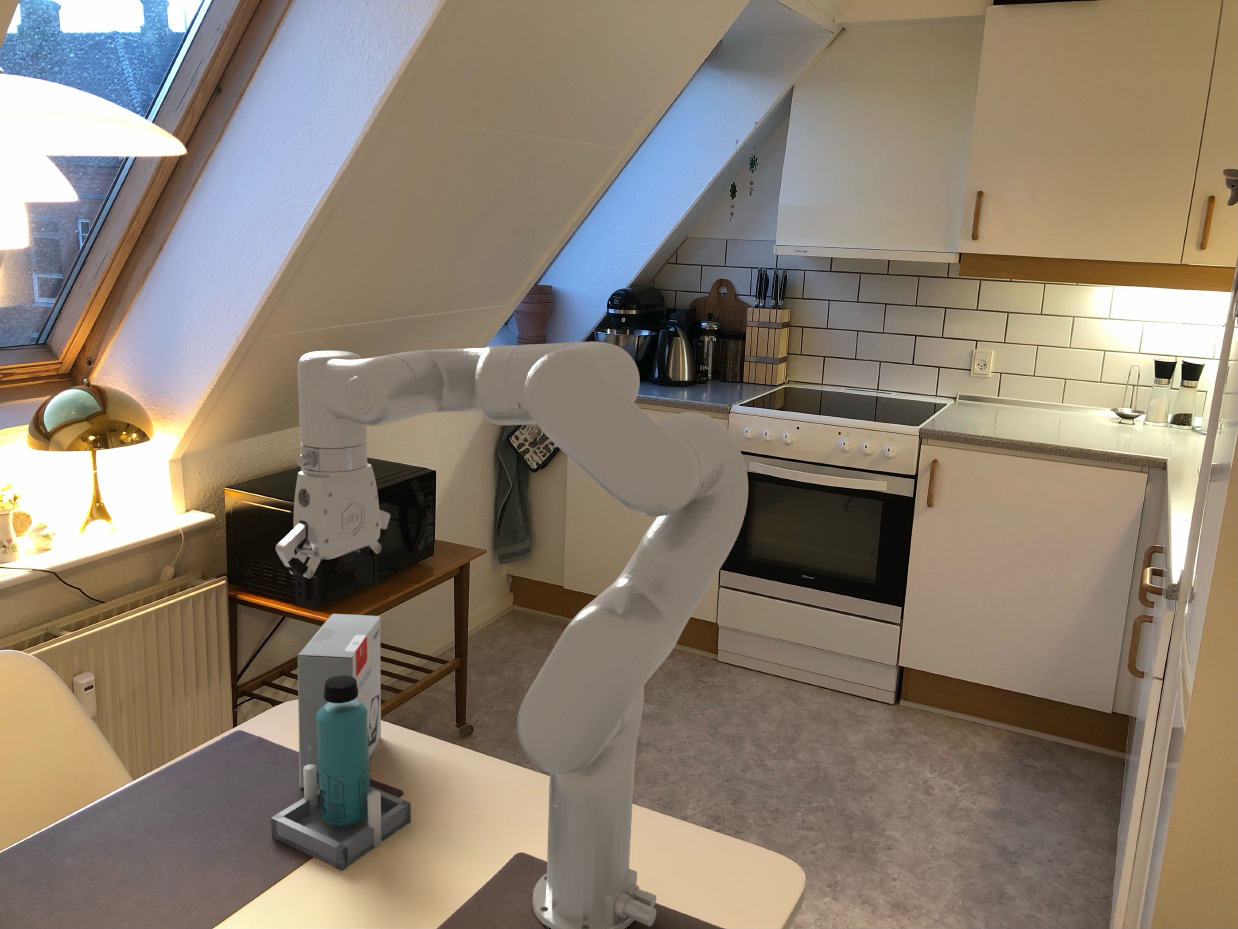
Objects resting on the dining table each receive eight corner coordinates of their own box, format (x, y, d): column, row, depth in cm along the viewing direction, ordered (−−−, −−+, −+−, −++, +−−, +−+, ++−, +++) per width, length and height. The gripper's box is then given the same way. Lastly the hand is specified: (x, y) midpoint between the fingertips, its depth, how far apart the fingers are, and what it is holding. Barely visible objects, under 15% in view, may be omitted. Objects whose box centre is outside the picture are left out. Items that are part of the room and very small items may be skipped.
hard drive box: (354, 792, 136) (351, 658, 131) (298, 790, 136) (293, 655, 131) (382, 736, 151) (381, 614, 146) (333, 734, 151) (329, 611, 146)
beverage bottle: (382, 823, 127) (379, 680, 123) (336, 844, 123) (331, 697, 118) (354, 802, 132) (350, 663, 127) (309, 822, 127) (303, 679, 122)
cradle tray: (412, 822, 129) (411, 774, 128) (343, 871, 119) (342, 820, 117) (341, 792, 135) (339, 746, 134) (270, 836, 125) (267, 787, 123)
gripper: (300, 476, 107) (305, 624, 111) (408, 449, 121) (409, 580, 125) (252, 465, 110) (259, 609, 114) (363, 441, 125) (366, 569, 129)
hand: (338, 594), depth 120 cm, fingers open, 9 cm apart
